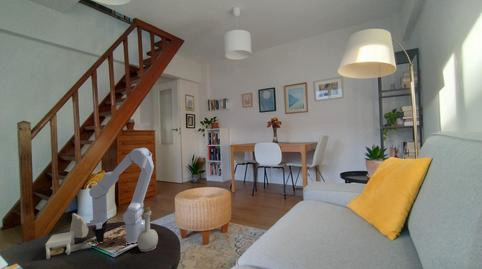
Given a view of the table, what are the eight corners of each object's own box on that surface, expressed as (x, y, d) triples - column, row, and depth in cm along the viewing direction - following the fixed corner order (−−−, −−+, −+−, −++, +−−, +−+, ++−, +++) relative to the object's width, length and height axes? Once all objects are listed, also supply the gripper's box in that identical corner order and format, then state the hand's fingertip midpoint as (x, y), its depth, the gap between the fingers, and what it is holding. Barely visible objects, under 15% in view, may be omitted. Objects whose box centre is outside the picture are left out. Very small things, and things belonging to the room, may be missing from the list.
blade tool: (104, 240, 110) (104, 226, 110) (103, 244, 105) (103, 230, 105) (67, 248, 103) (67, 233, 103) (65, 252, 98) (64, 238, 98)
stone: (89, 235, 116) (89, 212, 116) (79, 239, 111) (78, 216, 111) (77, 232, 120) (77, 210, 120) (67, 236, 116) (66, 213, 116)
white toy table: (74, 244, 106) (73, 231, 106) (70, 254, 97) (69, 239, 97) (52, 249, 102) (52, 235, 102) (46, 259, 93) (45, 244, 93)
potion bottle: (151, 253, 95) (150, 210, 95) (132, 251, 97) (131, 210, 97) (162, 243, 104) (161, 204, 104) (145, 242, 106) (144, 203, 106)
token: (65, 249, 102) (65, 246, 102) (62, 254, 98) (62, 251, 98) (51, 252, 100) (51, 249, 100) (47, 257, 96) (47, 254, 96)
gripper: (91, 207, 111) (92, 235, 111) (87, 216, 98) (88, 247, 98) (108, 204, 115) (109, 231, 115) (106, 213, 102) (107, 243, 102)
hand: (100, 238), depth 107 cm, fingers open, 7 cm apart
